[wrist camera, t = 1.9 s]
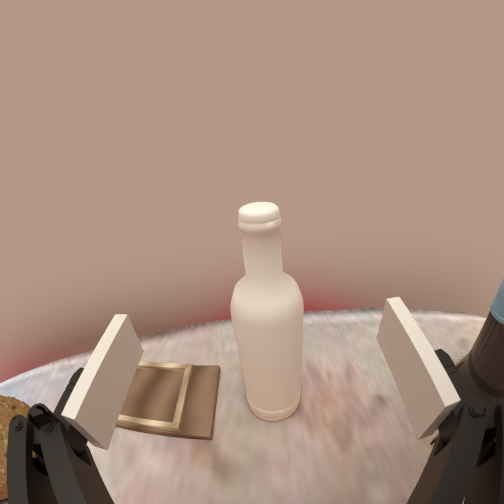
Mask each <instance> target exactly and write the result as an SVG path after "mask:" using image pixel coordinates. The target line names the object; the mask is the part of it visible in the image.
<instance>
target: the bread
mask: <svg viewBox="0 0 504 504" xmlns="http://www.w3.org/2000/svg"><path fill="white" fill-rule="evenodd" d="M29 409H30V407H29V405H27V404H25V402H23V401H20V400H17V399H15V397H10V396H8V397H5V396H2V395H0V500H2V499H5V498H7V497H8V494H7V442H8V430H9V424H10V421H11V419H12V418H13V417H14V416H15V415H18V414H21V415H23V416H24V417H26V418H27V413H28V411H29ZM33 457H35V453H34V452H33Z"/></svg>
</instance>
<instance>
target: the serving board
mask: <svg viewBox="0 0 504 504" xmlns="http://www.w3.org/2000/svg"><path fill="white" fill-rule="evenodd" d="M219 377H220V367H219V366H196V365H192V364H175V363H155V362H139V364H138V367H137V369H136V372H135V375H134V377H133V380H132V382H131V385H130V388H129V390H128V393H127V395H126V398H125V401H124V404H123V406H122V409H121V412H120V415H119V418H118V420H117V423H116V426H115V427H119V428H124V429H129V430H134V431H139V432H145V433H151V434H157V435H164V436H172V437H181V438H191V439H205V440H212V435H213V426H214V418H215V409H216V401H217V393H218V385H219Z"/></svg>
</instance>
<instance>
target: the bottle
mask: <svg viewBox="0 0 504 504" xmlns="http://www.w3.org/2000/svg"><path fill="white" fill-rule="evenodd" d="M238 214H239V221H238V228H239V229H240V231H241V240H242V248H243V255H244V264H245V272H246V275H245V276H244V277H243V278H242V279H241V280H239V281H238V283H237V284H236V285H235V288H234V292H233V296H232V300H231V305H230V310H231V316H232V322H233V327H234V333H235V338H236V343H237V348H238V353H239V358H240V364H241V369H242V373H243V378H244V383H245V388H246V396H247V400H248V403H249V406H250V409H251V411H252V412H253V413H254V414H255V415H256V416H257V417H259V418H261V419H263V420H267V421H279V420H283V419H285V418H287V417H289V416H291V415H292V414H293V413H294V412H295V411H296V410H297V407H298V405H299V401H300V397H301V392H300V385H301V367H302V345H303V307H304V305H303V298H302V295H301V292H300V290H299V287H298V285H297V283H296V282H295V280H294V279H293V278H292V277H291V276H289V275H287V274H286V273H284V272H283V271H282V256H281V255H282V254H281V237H280V228H281V225H282V224H281V218H280V215H279V208H278V206H276V205H275V204H274V203H270V202H255V203H250V204H247V205H244V206H243V207H241V208H240V209H239V211H238Z"/></svg>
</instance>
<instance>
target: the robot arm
mask: <svg viewBox="0 0 504 504" xmlns="http://www.w3.org/2000/svg"><path fill="white" fill-rule="evenodd" d="M490 308H491V310H490V312H489V315H488V317H487V319H486V321H485V323H484V325H483V327H482V329H481V331H480V333H479V335H478V337H477V339H476V341H475V343H474V345H473V347H472V349H471V351H470V352H469V353H468V354H467V355H466V356H465V357H464V358H463V359H461V360H460V361H459V362H458V363H457V364H456V365H454V363H453V361H452V359H451V358H450V356H449V355H448V354H447V353H446V352H445V351H443V350H442V349H438V350H435V351H434V350H433V349H432V347H431V345H430V344H429V342H428V340H427V339H426V337H425V335H424V334H423V332H422V331H421V329H420V327H419V326H418V324H417V323H416V321H415V320H414V318H413V317H412V315H411V314H410V312H409V310H408V309H407V308H406V306H405V305H404V303H403V302H402V300H401V299H400V297H395V298H389V299H386V303H385V308H384V312H383V316H382V320H381V324H380V328H379V332H378V335H377V341H378V343H379V345H380V347H381V349H382V352H383V354H384V356H385V358H386V361H387V363H388V365H389V368H390V370H391V372H392V375H393V377H394V380H395V382H396V384H397V387H398V389H399V392H400V394H401V397H402V399H403V402H404V405H405V407H406V410H407V412H408V415H409V418H410V421H411V423H412V426H413V429H414V432H415V435H416V437H417V440H419V439H421V438H424V437H427V436H429V435H432V434H433V433H434V432H435V430H436V429H437V428H438V430H439V434H438V435H437V436H436V437H435V438H434V439H433V440H432V442H431V444H430V445H432V444H433V443H434V442H435V441H436V442H435V444H434V447H433V449H432V452H431V454H430V457H429V459H428V461H427V464H426V466H425V468H424V470H423V473H422V475H421V477H420V479H419V481H418V483H417V485H416V487H415V489H414V491H413V493H412V494H411V496H410V498H409V500H408V502H407V504H462V502H463V499H464V497H465V500H464V504H504V279H503V281H502V283H501V286H500V287H499V290H498V292H497V294H496V297H495V298H494V299H493V301H492V303H491V307H490ZM143 352H144V351H143V349H142V347H141V345H140V342H139V340H138V338H137V336H136V334H135V332H134V329H133V327H132V324H131V322H130V320H129V317H128V315H122V314H116V315H115V316H114V318H113V319H112V321H111V323H110V324H109V326H108V328H107V329H106V331H105V333H104V335H103V336H102V338H101V340H100V341H99V343H98V345H97V347H96V348H95V350H94V352H93V354H92V355H91V357H90V359H89V361H88V363H87V365H86V366H85V368H79V369H78V370H77V371H76V372H75V373H74V374H73V376H72V377H71V379H70V381H69V384H68V385H67V387H66V390H65V391H64V393H63V395H62V397H61V398H60V400H59V402H58V404H57V407H56V409H55V411H54V412H53V413H52V412H51V411H50V410H49V409H48V408H47V407H46V406H45V405H44V404H41V403H39V404H35V405H33V406H32V407H31V408H30V409H29V411H28V413H27V418H26V417H24V416H23V415H21V414H18V415H15V416H14V417H13V418H12V419H11V421H10V424H9V430H8V442H7V494H8V504H114V502H113V500H112V498H111V496H110V494H109V492H108V490H107V488H106V486H105V484H104V482H103V480H102V478H101V476H100V474H99V471H98V469H97V467H96V464H95V462H94V460H93V457H92V455H91V452H90V449H89V448H88V446H87V445H86V444H87V441H89V442H90V443H91V444H93V445H94V446H96V447H99V448H102V449H106V450H108V447H109V444H110V441H111V438H112V435H113V432H114V429H115V426H116V423H117V420H118V418H119V415H120V412H121V409H122V406H123V404H124V401H125V398H126V395H127V393H128V390H129V388H130V385H131V382H132V380H133V377H134V375H135V372H136V369H137V367H138V364H139V362H140V359H141V357H142V355H143ZM33 452H34V453H35V457H33Z"/></svg>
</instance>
